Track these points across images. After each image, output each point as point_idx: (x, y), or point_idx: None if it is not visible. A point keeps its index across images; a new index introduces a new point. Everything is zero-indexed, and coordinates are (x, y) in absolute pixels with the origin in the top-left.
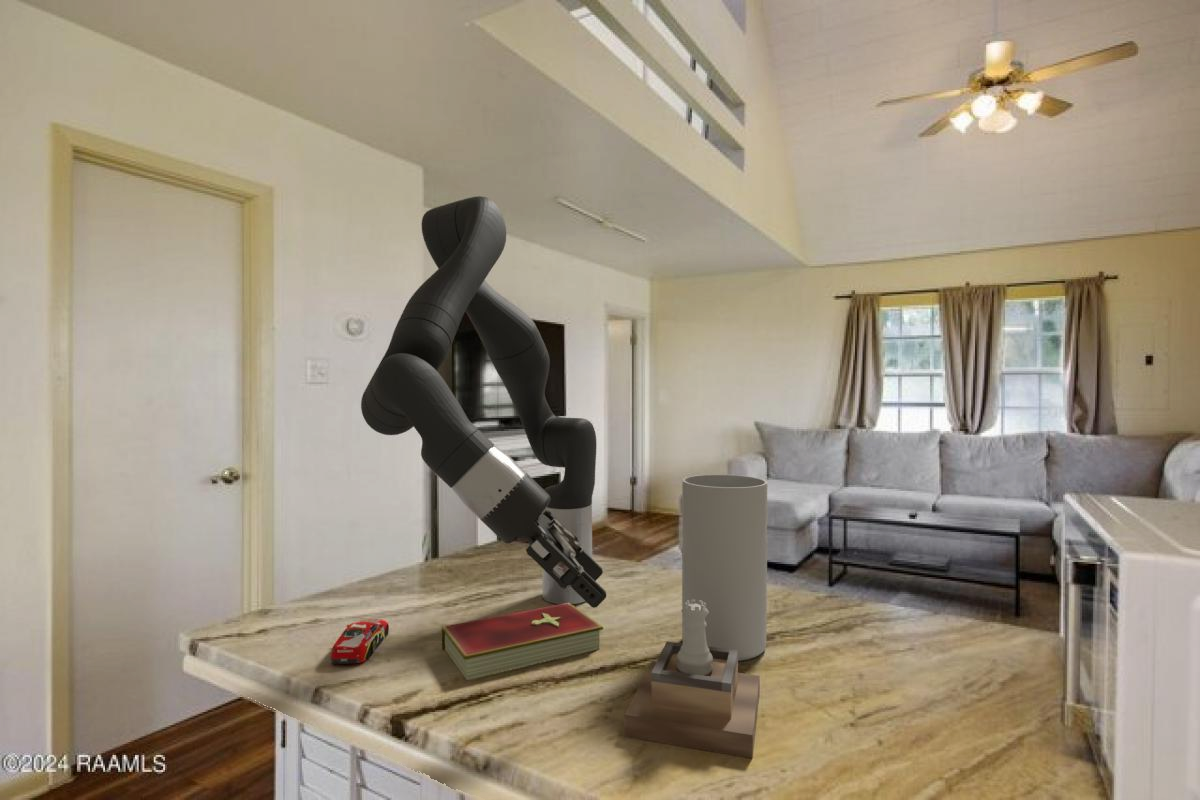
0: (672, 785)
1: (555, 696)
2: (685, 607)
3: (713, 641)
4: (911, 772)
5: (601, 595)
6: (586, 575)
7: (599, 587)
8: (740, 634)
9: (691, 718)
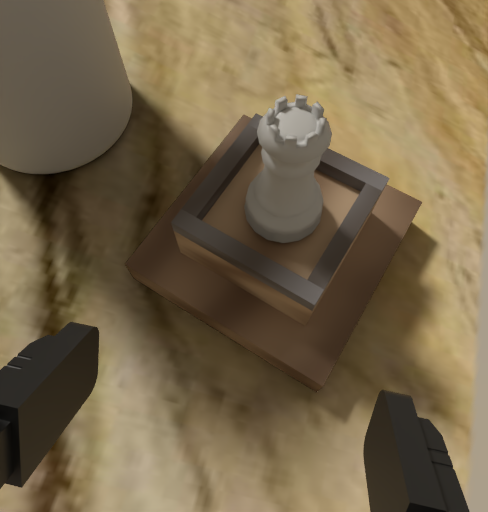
0: (463, 358)
1: (127, 501)
2: (296, 147)
3: (99, 128)
4: (458, 68)
5: (430, 422)
6: (438, 497)
7: (418, 424)
8: (120, 78)
9: (358, 271)
